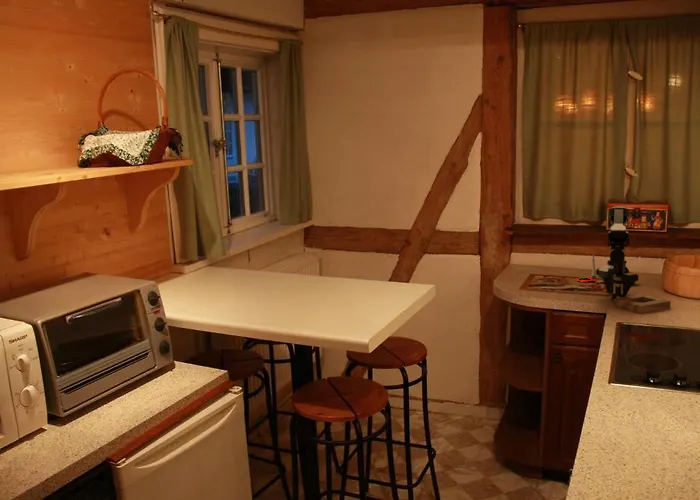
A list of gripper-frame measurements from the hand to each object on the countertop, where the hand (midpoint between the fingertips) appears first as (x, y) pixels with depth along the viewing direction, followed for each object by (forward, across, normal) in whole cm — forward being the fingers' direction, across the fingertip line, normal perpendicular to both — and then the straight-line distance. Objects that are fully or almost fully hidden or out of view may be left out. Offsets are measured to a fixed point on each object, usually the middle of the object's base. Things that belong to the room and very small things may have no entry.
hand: (616, 294), depth 285 cm
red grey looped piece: (+3, -35, +15) cm, 38 cm away
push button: (+3, 0, 0) cm, 3 cm away
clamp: (+3, -22, +28) cm, 36 cm away
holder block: (+2, +14, 0) cm, 14 cm away
